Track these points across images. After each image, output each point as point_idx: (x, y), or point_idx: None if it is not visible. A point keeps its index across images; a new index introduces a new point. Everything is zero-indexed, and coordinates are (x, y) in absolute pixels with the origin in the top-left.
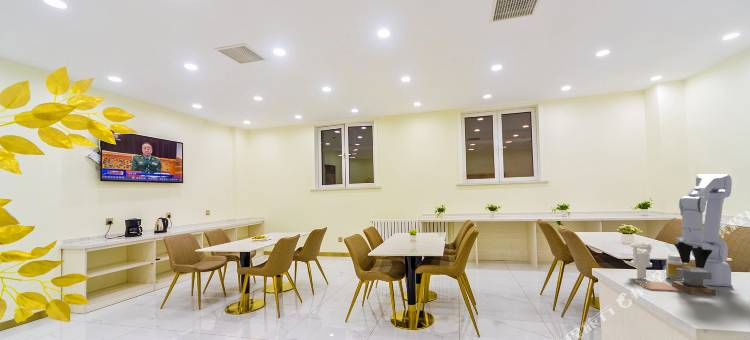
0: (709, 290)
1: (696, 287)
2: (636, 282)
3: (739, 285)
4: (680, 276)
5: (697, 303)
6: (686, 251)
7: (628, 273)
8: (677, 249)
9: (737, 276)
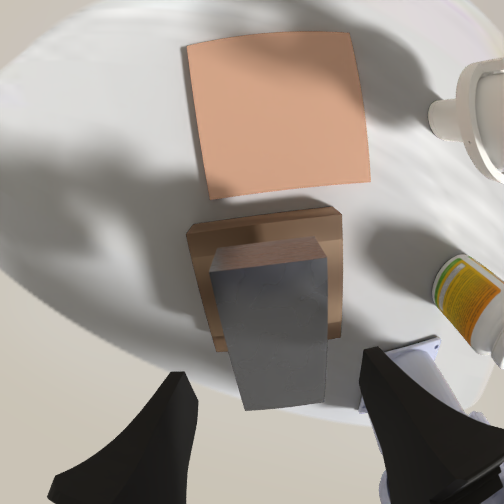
0: (210, 325)
1: None
2: (333, 33)
3: None
4: (251, 244)
5: (55, 202)
6: (396, 456)
7: None
8: (460, 417)
9: None
